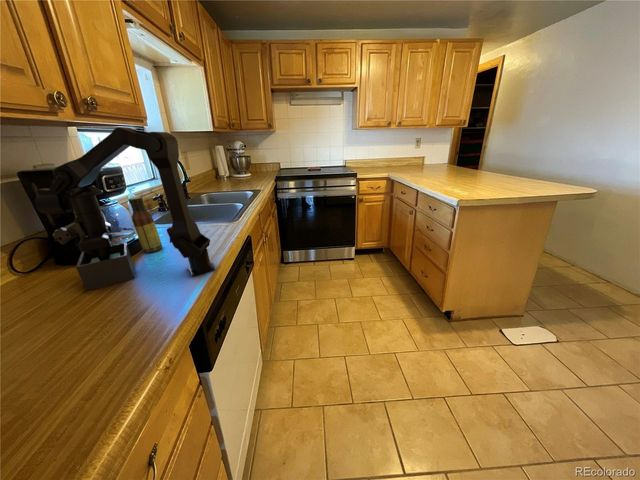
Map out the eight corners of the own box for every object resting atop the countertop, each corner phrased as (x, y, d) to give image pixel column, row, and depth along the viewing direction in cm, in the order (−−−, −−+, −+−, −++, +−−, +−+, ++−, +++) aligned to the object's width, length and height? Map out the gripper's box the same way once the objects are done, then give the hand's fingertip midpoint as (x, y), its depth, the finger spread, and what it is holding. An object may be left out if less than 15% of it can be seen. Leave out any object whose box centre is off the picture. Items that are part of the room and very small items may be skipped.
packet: (122, 259, 83) (119, 252, 82) (122, 265, 79) (119, 257, 78) (94, 266, 80) (91, 258, 79) (92, 272, 76) (89, 264, 75)
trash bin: (134, 278, 79) (126, 255, 76) (86, 291, 73) (75, 267, 70) (133, 262, 89) (126, 242, 86) (90, 273, 83) (81, 251, 80)
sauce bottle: (164, 245, 102) (149, 194, 95) (160, 251, 97) (145, 198, 89) (145, 248, 100) (128, 196, 93) (140, 254, 95) (122, 200, 87)
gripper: (55, 210, 76) (76, 259, 82) (39, 226, 62) (66, 283, 68) (103, 203, 82) (119, 249, 88) (99, 216, 68) (119, 270, 73)
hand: (107, 262), depth 79 cm, fingers closed on packet, 5 cm apart
